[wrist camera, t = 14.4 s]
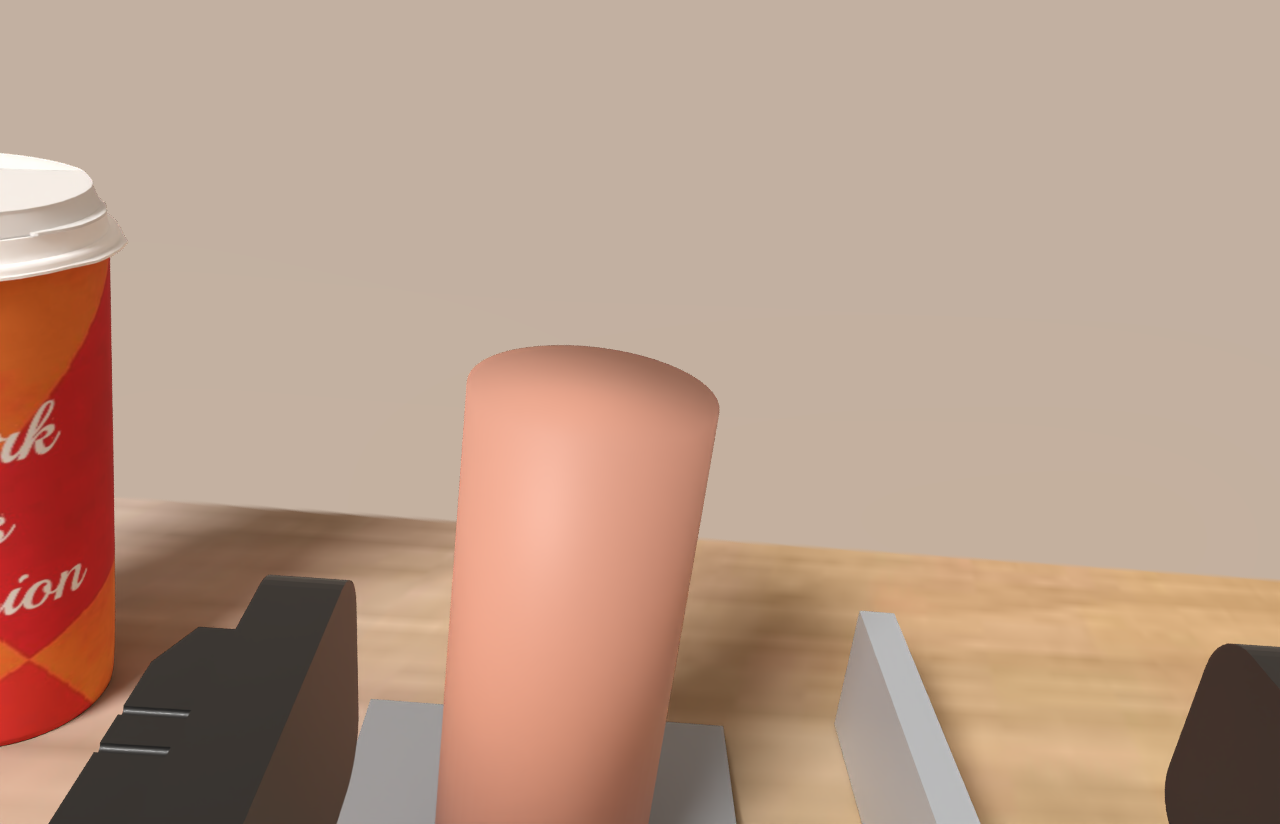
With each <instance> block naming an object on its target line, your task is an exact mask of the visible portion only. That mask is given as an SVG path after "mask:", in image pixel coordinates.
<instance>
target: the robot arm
mask: <svg viewBox="0 0 1280 824" xmlns="http://www.w3.org/2000/svg"><path fill="white" fill-rule="evenodd" d="M357 735H358V663H357V612H356V593H355V588H354V585H353V582H352V581H350V580H338V579H323V578H309V577H294V576H280V575H268V576H266V577H265V578H264V579H263V581H262V582H261V584H260V585H259V587H258V589H257V591H256V593H255V595H254V596H253V598H252V600H251V602H250V604H249V606H248V607H247V609H246V611H245V613H244V615H243V616H242V618H241V620H240V622H239V624H238V626H237V627H236V629H223V628H208V627H198V628H197V629H195V630H194V631H193V632H191V633H190V634H189V635H187V636H186V637H185V638H183V639H182V640H180V641H179V642H178V643H176V644H175V645H174V646H172V647H171V648H170V649H168V650H167V651H166V652H164V653H163V654H162V655H160V656H159V657H158V658H156V659H155V660H153V661H152V662H151V663H150V665H149V667H148V668H147V670H146V671H145V673H144V674H143V676H142V678H141V679H140V681H139V682H138V684H137V685H136V687H135V689H134V690H133V692H132V693H131V695H130V696H129V698H128V700H127V701H126V703H125V704H124V709H123V713H122V715H117V717H116V718H115V720H114V722H113V723H112V725H111V726H110V728H109V729H108V731H107V733H106V734H105V736H104V737H103V739H102V740H101V742H100V749H99V752H98V753H97V752H94V753H93V755H92V756H91V758H90V759H89V761H88V762H87V764H86V766H85V767H84V769H83V770H82V772H81V773H80V775H79V777H78V778H77V780H76V781H75V783H74V784H73V786H72V788H71V789H70V791H69V792H68V794H67V795H66V797H65V799H64V800H63V802H62V803H61V805H60V806H59V808H58V810H57V811H56V813H55V814H54V816H53V817H52V819H51V821H50V822H49V824H337V821H338V818H339V815H340V812H341V809H342V806H343V802H344V799H345V796H346V793H347V790H348V786H349V783H350V779H351V775H352V770H353V765H354V759H355V752H356V745H357ZM1165 804H1166V812H1167V817H1168V821H1169V824H1280V647H1272V646H1257V645H1243V644H1225V645H1222V646H1221V647H1219V648H1217V649H1216V650H1215V651H1214V652H1213V654H1212V655H1211V657H1210V658H1209V660H1208V663H1207V665H1206V667H1205V670H1204V673H1203V675H1202V678H1201V681H1200V684H1199V686H1198V689H1197V692H1196V694H1195V697H1194V700H1193V702H1192V705H1191V708H1190V711H1189V713H1188V716H1187V719H1186V721H1185V724H1184V727H1183V730H1182V732H1181V735H1180V738H1179V740H1178V743H1177V746H1176V749H1175V751H1174V754H1173V757H1172V759H1171V762H1170V765H1169V768H1168V771H1167V776H1166V781H1165Z"/></svg>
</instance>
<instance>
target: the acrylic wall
mask: <svg viewBox="0 0 1280 824" xmlns="http://www.w3.org/2000/svg"><path fill="white" fill-rule="evenodd" d="M834 724H835V728H836V732H837V735H838V739H839V742H840V746H841V750H842V753H843V757H844V760H845V764H846V768H847V771H848V775H849V778H850V782H851V786H852V789H853V793H854V796H855V800H856V804H857V807H858V811H859V814H860V818H861V822H862V824H980V821H979V819H978V816H977V814H976V811H975V809H974V807H973V804H972V802H971V799H970V797H969V794H968V792H967V789H966V787H965V785H964V782H963V780H962V777H961V775H960V772H959V770H958V768H957V765H956V763H955V760H954V758H953V755H952V753H951V751H950V748H949V746H948V743H947V741H946V738H945V736H944V734H943V731H942V729H941V726H940V724H939V721H938V719H937V717H936V714H935V712H934V709H933V707H932V704H931V702H930V700H929V697H928V695H927V692H926V690H925V687H924V685H923V683H922V680H921V678H920V675H919V673H918V670H917V668H916V665H915V663H914V661H913V658H912V656H911V653H910V651H909V648H908V646H907V644H906V641H905V639H904V636H903V634H902V631H901V629H900V627H899V624H898V622H897V619H896V617H895V614H893V613H881V612H870V611H859V616H858V620H857V625H856V629H855V634H854V638H853V643H852V647H851V652H850V656H849V661H848V665H847V670H846V674H845V679H844V683H843V687H842V692H841V696H840V701H839V705H838V710H837V714H836V719H835V723H834Z"/></svg>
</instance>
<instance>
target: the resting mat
mask: <svg viewBox="0 0 1280 824" xmlns="http://www.w3.org/2000/svg"><path fill="white" fill-rule="evenodd" d="M443 706H444V705H443V704H430V703H417V702H404V701H391V700H378V699H371V700H370V703H369V706H368V709H367V713H366V716H365V719H364V722H363V725H362V728H361V731H360V734H359V737H358V740H357V745H356V752H355V759H354V765H353V770H352V775H351V779H350V783H349V786H348V790H347V793H346V796H345V799H344V802H343V806H342V809H341V812H340V815H339V818H338V821H337V824H435V817H436V803H437V789H438V775H439V761H440V747H441V733H442V719H443ZM648 824H736V818H735V811H734V803H733V796H732V788H731V781H730V774H729V766H728V759H727V751H726V744H725V737H724V729H723V726H715V725H702V724H689V723H676V722H666V724H665V730H664V736H663V742H662V748H661V753H660V759H659V765H658V771H657V777H656V782H655V788H654V794H653V800H652V806H651V811H650V817H649V823H648Z"/></svg>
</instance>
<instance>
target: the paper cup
mask: <svg viewBox="0 0 1280 824" xmlns="http://www.w3.org/2000/svg"><path fill="white" fill-rule="evenodd" d="M127 243H128V240H127V239H126V237H125V235H124V234H123V232H122V229H121V227H120V226H119V225H118V223H117V221H116V219H114V218H113V217H112V216H111V215H110V214H108V213H107V206H106V203H105V202H103V201H102V199H101V198H99V197H98V195H97V193H96V191H95V188H94V186H93V181H92V180H91V178H90V177H89V176H88V175H87V174H86V173H85V172H84V171H83V170H81V169H79V168H77V167H74V166H70V165H68V164H64V163H60V162H56V161H52V160H46V159H41V158H36V157H29V156H22V155H14V154H3V153H0V746H3V745H8V744H12V743H17V742H20V741H24V740H27V739H30V738H33V737H36V736H39V735H41V734H44V733H46V732H49V731H51V730H53V729H55V728H57V727H59V726H61V725H63V724H65V723H67V722H69V721H70V720H72V719H74V718H75V717H77V716H78V715H80V714H81V713H82V712H84V711H85V710H86V709H88V708H89V707H90V706H91V705H92V704H93V703H94V702H95V701H96V700H97V699H98V698H99V697H100V696H101V695H102V693H103V692H104V691H105V689H106V688H107V686H108V684H109V682H110V679H111V676H112V671H113V665H114V649H115V536H114V466H113V414H112V413H113V408H112V355H111V354H112V352H111V291H110V257H112V256H113V255H115V254H116V253H118V252H119V251H121V250H122V249H123V248H124V247H125V245H126V244H127Z"/></svg>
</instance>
